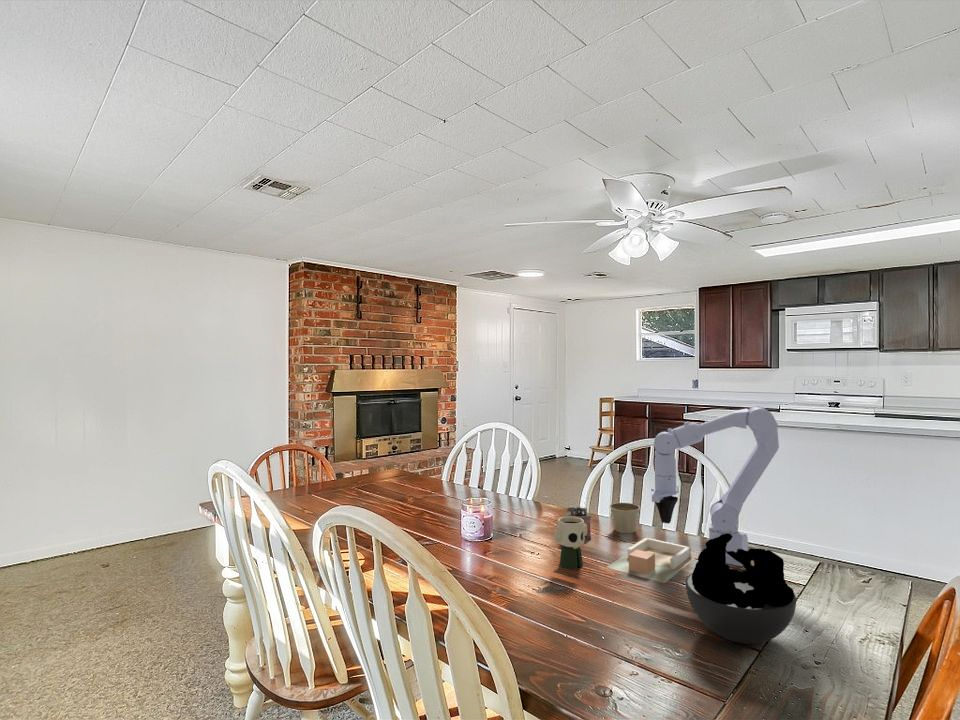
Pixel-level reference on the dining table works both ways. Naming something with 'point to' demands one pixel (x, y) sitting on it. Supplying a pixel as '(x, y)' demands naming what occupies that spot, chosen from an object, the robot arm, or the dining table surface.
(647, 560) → the block
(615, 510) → the flower pot
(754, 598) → the coal bowl
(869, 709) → the dining table surface
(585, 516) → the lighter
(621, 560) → the board
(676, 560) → the cream u-shaped frame
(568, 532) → the character mug
